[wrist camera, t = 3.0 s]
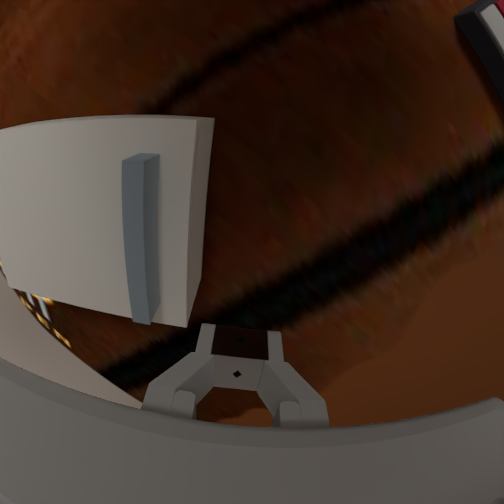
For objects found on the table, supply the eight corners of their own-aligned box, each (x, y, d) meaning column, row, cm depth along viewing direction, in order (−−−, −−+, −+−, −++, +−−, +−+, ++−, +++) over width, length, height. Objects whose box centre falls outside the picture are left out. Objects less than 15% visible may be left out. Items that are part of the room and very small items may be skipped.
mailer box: (34, 122, 19) (-9, 132, 14) (214, 118, 20) (200, 119, 14) (45, 252, 25) (14, 281, 20) (201, 277, 26) (188, 319, 21)
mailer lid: (-12, 132, 13) (-37, 140, 11) (199, 119, 14) (186, 121, 12) (12, 283, 20) (-5, 301, 17) (188, 322, 21) (180, 351, 18)
